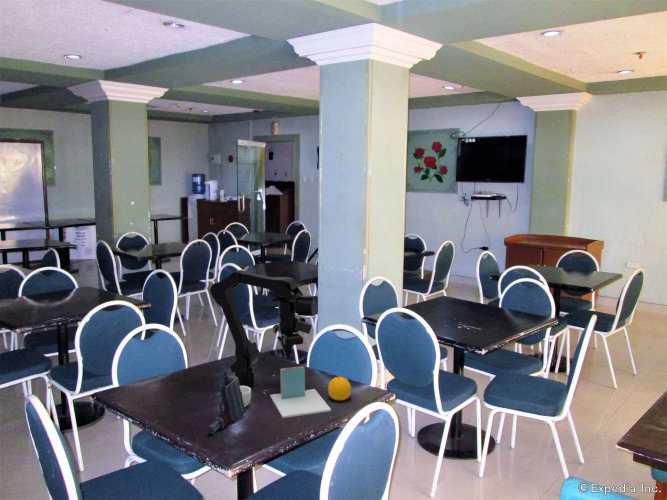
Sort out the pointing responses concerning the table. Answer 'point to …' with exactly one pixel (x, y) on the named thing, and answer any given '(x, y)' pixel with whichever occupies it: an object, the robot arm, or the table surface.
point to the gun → (228, 403)
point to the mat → (300, 404)
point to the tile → (292, 382)
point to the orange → (339, 388)
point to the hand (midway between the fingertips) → (288, 357)
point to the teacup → (245, 394)
